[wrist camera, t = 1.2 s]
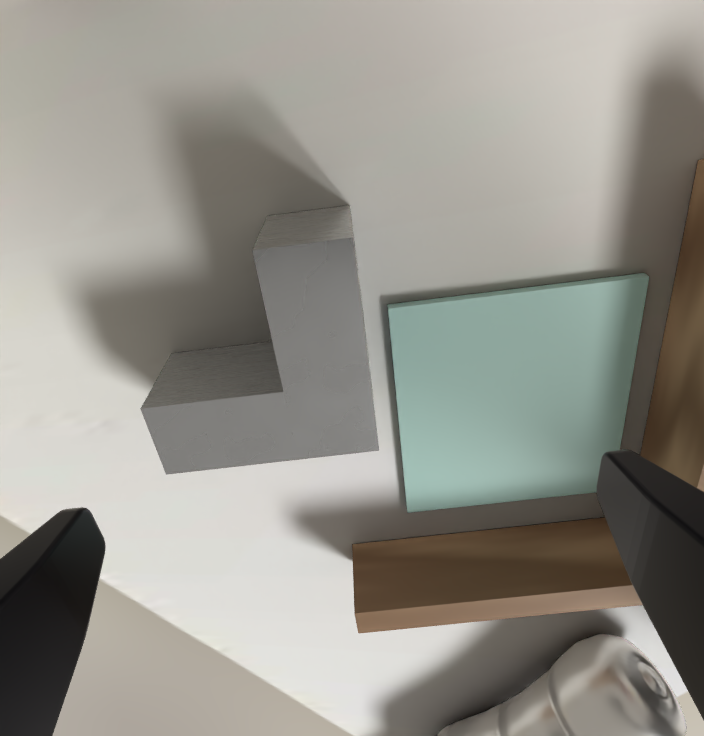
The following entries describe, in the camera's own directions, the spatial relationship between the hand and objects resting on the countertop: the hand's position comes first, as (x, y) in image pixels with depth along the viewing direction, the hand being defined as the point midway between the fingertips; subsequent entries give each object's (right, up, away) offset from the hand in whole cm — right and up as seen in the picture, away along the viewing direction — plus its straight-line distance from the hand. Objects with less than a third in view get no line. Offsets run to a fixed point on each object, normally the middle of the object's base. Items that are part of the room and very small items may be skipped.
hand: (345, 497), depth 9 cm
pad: (+7, +1, +14) cm, 16 cm away
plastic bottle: (+17, -15, +19) cm, 29 cm away
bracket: (-3, +4, +12) cm, 13 cm away
